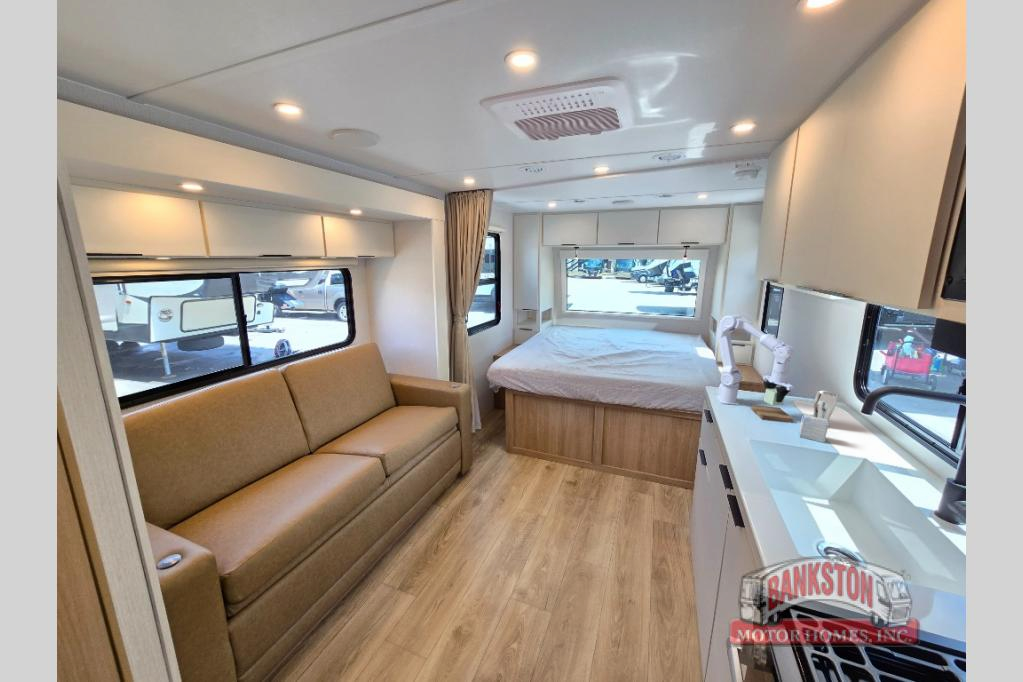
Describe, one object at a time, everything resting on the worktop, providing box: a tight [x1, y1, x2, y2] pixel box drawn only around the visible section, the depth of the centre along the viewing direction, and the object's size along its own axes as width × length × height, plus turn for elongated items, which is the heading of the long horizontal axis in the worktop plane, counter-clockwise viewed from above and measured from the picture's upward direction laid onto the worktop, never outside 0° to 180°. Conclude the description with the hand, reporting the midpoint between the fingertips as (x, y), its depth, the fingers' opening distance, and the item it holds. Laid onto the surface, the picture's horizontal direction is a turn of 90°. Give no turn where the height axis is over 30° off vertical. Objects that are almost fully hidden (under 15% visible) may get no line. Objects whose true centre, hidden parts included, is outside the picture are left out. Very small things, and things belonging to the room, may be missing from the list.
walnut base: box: [750, 404, 794, 424], centre depth 165 cm, size 12×12×2 cm
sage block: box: [763, 388, 785, 406], centre depth 163 cm, size 5×5×6 cm
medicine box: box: [798, 414, 830, 444], centre depth 144 cm, size 8×4×9 cm, turn 56°
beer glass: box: [813, 389, 838, 424], centre depth 155 cm, size 7×7×15 cm
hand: (774, 399), depth 163 cm, fingers closed on sage block, 5 cm apart
